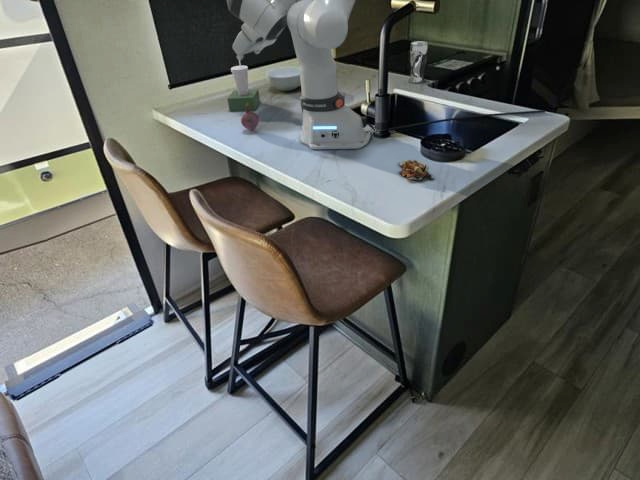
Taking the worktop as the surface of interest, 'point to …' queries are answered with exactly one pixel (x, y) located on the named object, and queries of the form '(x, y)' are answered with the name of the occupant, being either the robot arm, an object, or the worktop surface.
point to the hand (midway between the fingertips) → (247, 55)
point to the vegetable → (249, 119)
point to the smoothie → (241, 78)
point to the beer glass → (418, 61)
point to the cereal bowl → (284, 78)
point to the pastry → (414, 169)
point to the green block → (243, 100)
